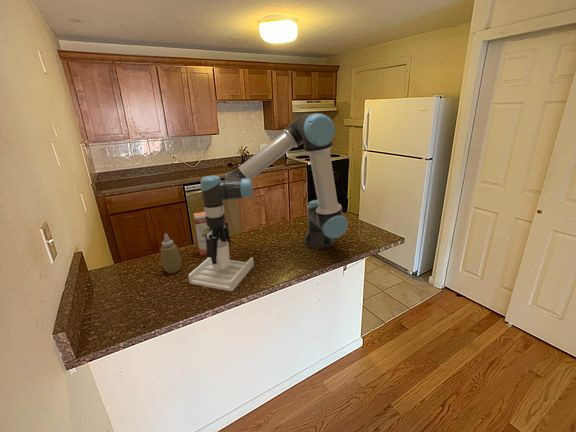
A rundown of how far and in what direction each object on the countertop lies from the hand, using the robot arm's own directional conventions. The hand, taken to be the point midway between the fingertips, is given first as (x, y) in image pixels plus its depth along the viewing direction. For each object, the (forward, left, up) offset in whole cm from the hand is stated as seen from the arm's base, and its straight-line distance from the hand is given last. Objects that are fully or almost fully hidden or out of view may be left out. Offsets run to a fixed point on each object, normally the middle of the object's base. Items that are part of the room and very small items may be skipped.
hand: (221, 264), depth 120 cm
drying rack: (0, 0, -5) cm, 5 cm away
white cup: (0, 0, 0) cm, 0 cm away
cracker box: (+16, -18, -5) cm, 25 cm away
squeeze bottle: (+24, +3, -5) cm, 25 cm away
